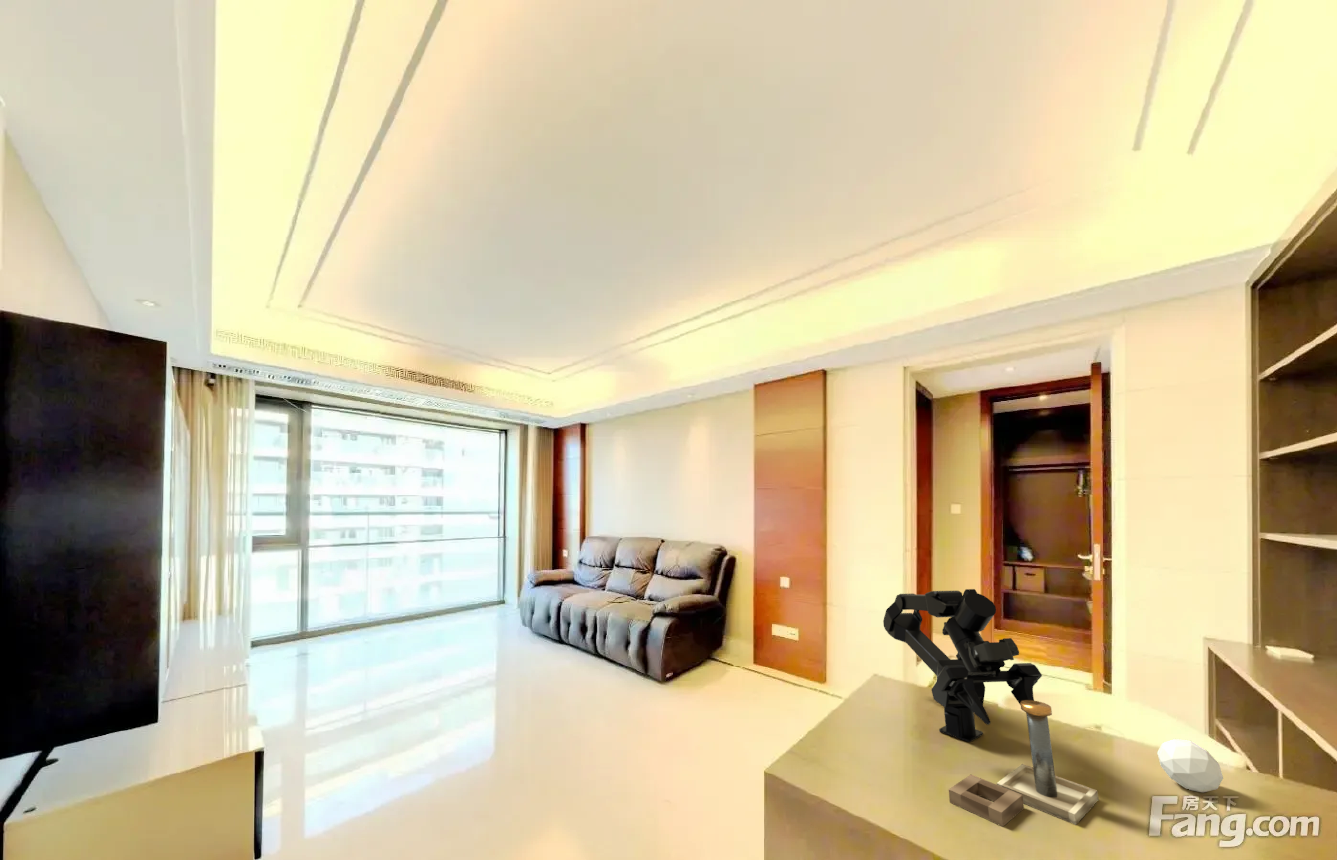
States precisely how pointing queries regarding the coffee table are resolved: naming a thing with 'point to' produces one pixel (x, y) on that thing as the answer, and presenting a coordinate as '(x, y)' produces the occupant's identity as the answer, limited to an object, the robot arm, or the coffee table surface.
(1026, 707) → the pin
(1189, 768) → the geometric ball
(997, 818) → the block
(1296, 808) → the coffee table surface
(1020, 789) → the tray
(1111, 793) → the coffee table surface
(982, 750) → the coffee table surface
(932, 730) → the coffee table surface
